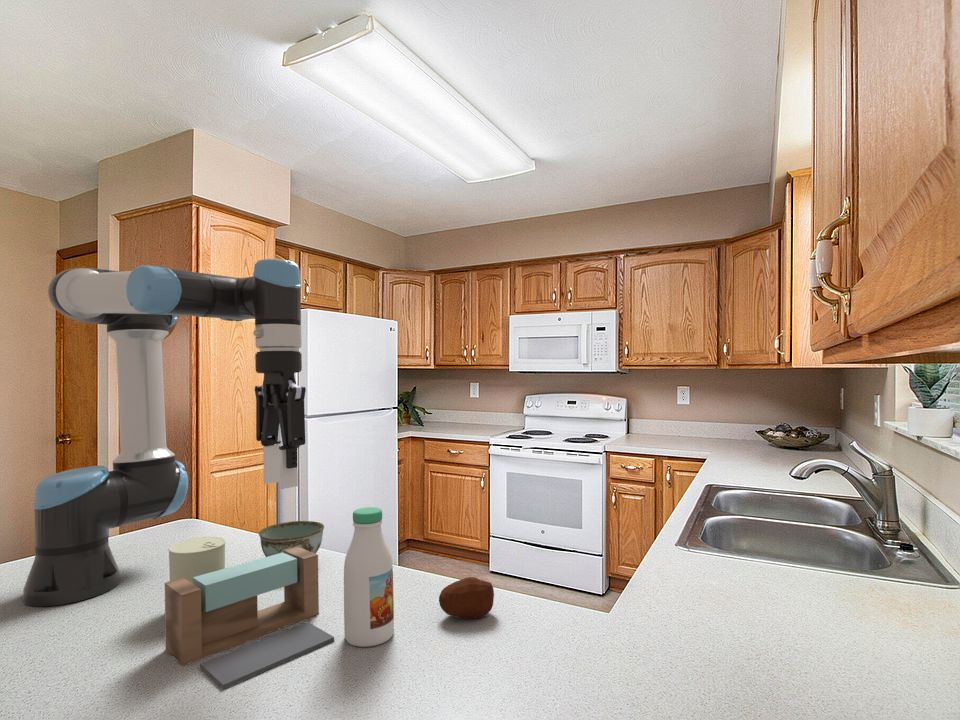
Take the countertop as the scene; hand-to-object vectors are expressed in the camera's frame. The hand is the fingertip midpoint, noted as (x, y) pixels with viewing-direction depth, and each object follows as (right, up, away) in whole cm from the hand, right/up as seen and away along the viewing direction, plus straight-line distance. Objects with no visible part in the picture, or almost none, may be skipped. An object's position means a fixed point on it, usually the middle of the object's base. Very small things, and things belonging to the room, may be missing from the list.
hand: (280, 484), depth 94 cm
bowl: (-6, -23, +25) cm, 35 cm away
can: (-16, -23, +4) cm, 29 cm away
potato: (+32, -22, -1) cm, 39 cm away
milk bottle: (+17, -23, -8) cm, 29 cm away
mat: (+3, -23, -12) cm, 26 cm away
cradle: (-3, -23, -4) cm, 23 cm away
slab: (-4, -17, -5) cm, 18 cm away
